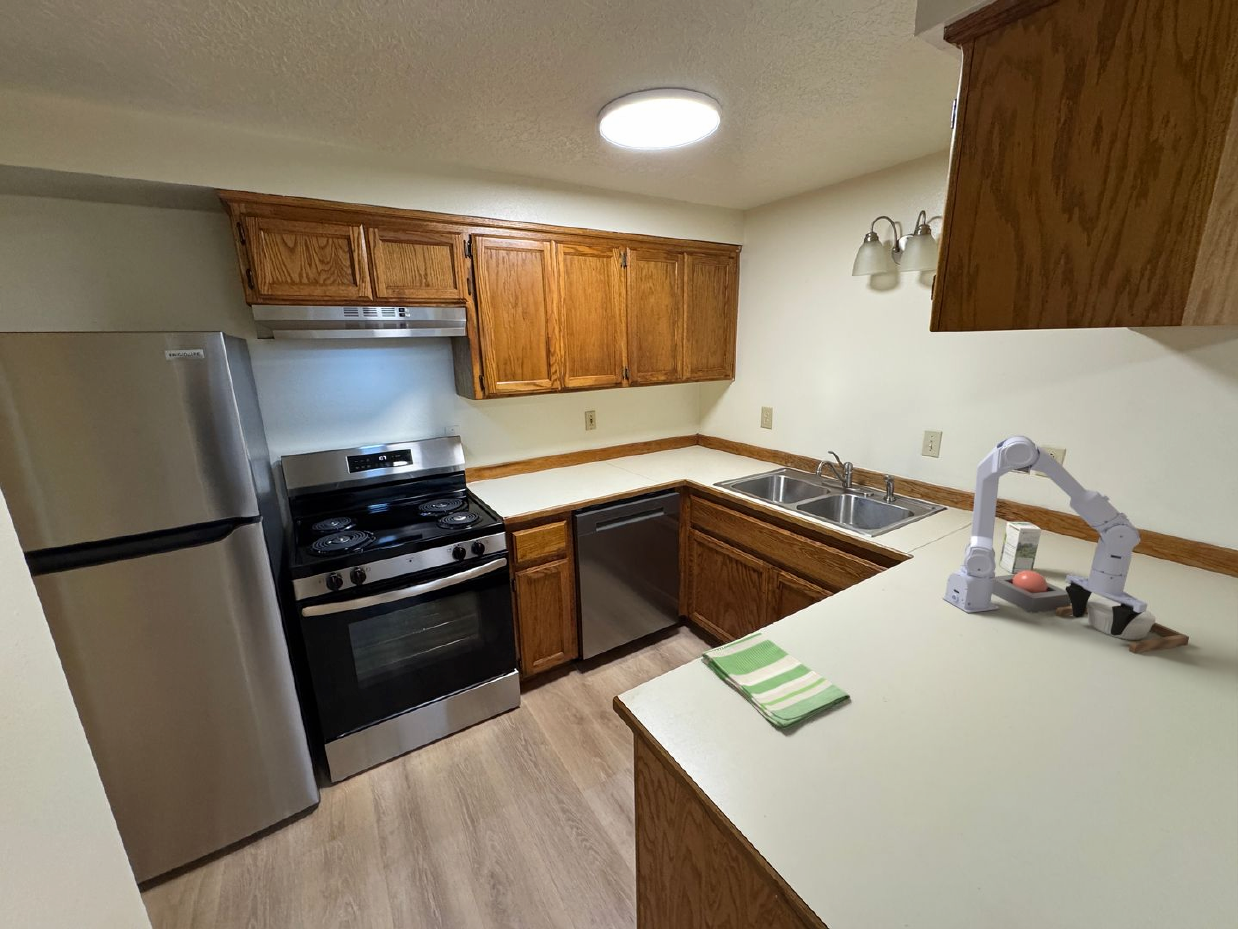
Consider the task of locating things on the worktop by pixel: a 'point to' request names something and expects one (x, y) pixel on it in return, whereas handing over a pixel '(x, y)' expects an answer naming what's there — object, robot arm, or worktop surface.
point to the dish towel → (773, 680)
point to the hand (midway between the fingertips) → (1096, 625)
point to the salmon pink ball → (1030, 581)
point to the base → (1030, 595)
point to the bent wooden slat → (1168, 640)
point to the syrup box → (1019, 547)
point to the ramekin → (1103, 619)
